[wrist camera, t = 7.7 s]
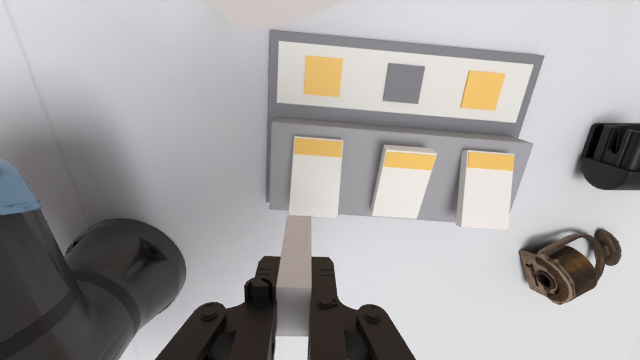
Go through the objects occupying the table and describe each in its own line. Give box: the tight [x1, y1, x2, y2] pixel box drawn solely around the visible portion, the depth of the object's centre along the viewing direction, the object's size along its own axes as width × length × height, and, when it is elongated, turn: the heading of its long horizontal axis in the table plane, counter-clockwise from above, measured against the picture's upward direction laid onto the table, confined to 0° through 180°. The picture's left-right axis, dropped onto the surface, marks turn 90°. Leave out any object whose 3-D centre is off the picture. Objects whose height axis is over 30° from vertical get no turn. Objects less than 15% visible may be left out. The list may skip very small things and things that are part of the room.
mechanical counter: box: [520, 230, 621, 305], centre depth 39 cm, size 7×13×10 cm
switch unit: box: [266, 30, 544, 222], centre depth 34 cm, size 30×20×5 cm, turn 85°
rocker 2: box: [456, 150, 515, 230], centre depth 31 cm, size 5×8×1 cm, turn 175°
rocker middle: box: [370, 145, 437, 219], centre depth 31 cm, size 5×8×1 cm, turn 175°
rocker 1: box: [289, 136, 343, 218], centre depth 31 cm, size 5×8×1 cm, turn 175°
